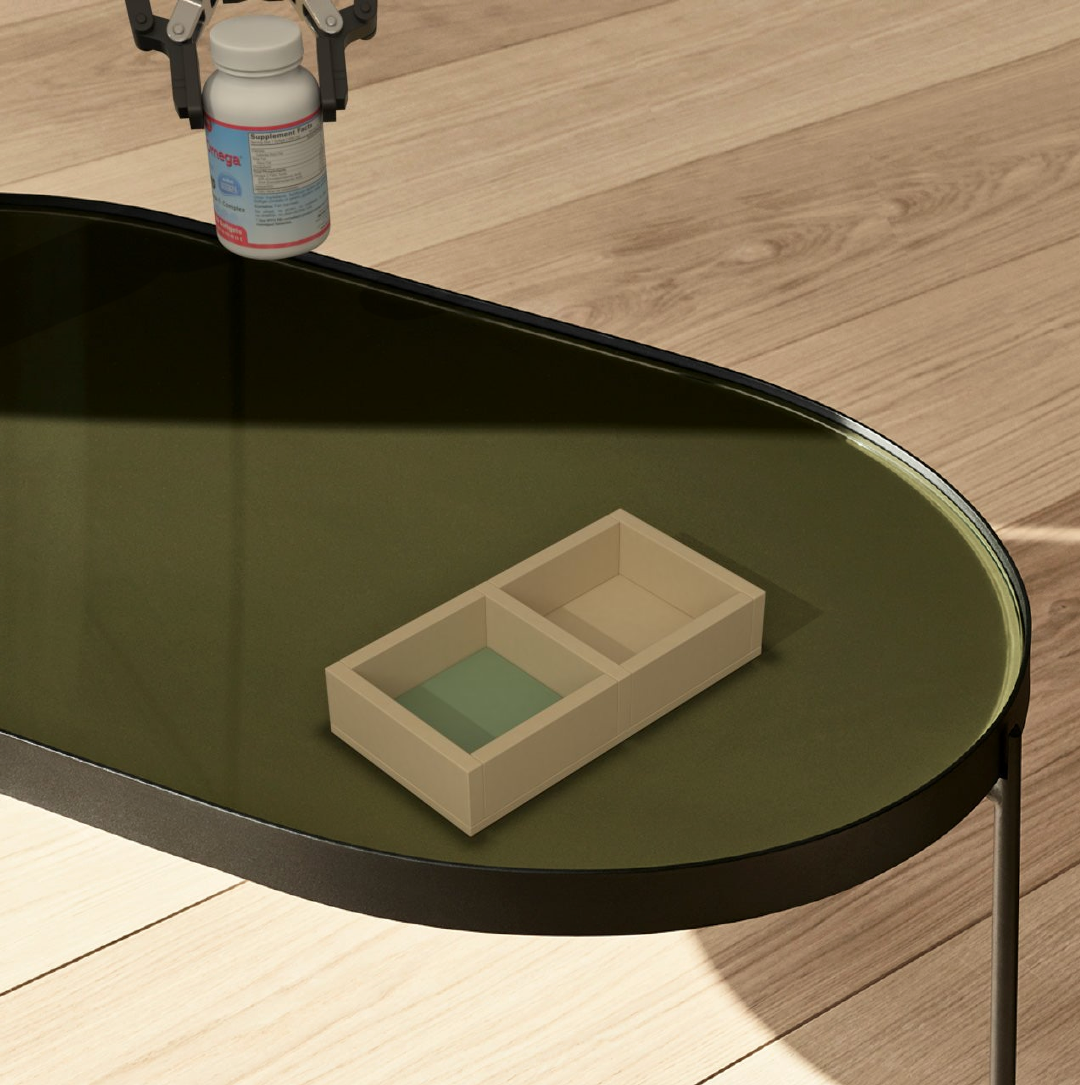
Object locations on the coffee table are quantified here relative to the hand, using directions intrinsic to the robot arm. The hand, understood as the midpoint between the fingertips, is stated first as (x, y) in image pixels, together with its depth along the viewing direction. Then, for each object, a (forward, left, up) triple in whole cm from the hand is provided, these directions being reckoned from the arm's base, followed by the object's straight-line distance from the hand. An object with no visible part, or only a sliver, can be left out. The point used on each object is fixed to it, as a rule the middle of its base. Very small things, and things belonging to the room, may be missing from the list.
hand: (263, 119), depth 99 cm
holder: (+31, -9, -14) cm, 35 cm away
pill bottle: (-1, +1, -7) cm, 8 cm away
